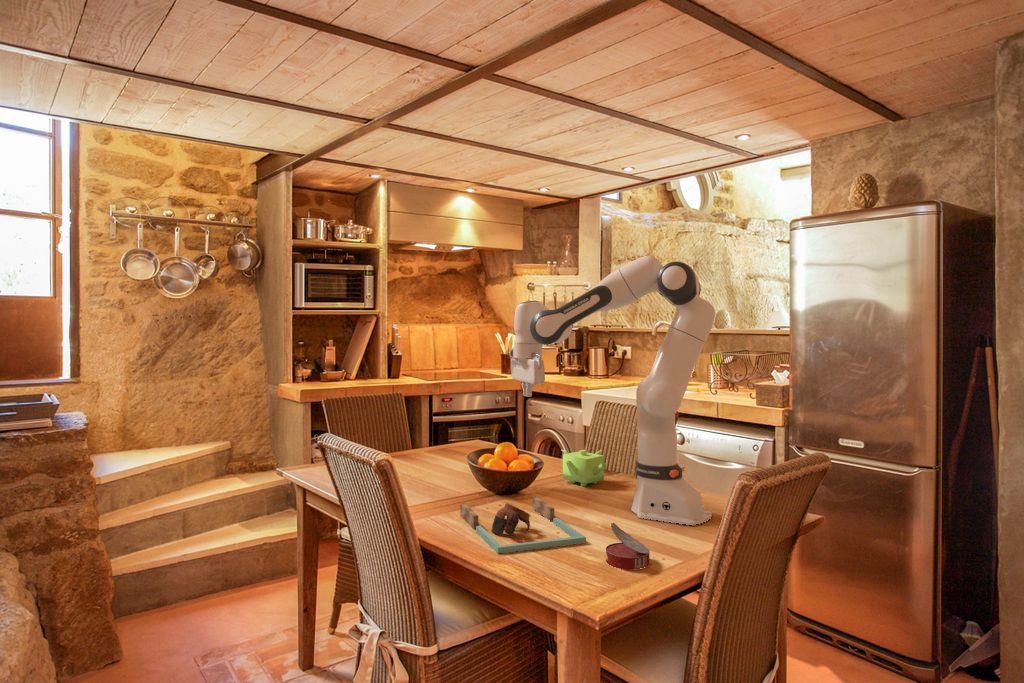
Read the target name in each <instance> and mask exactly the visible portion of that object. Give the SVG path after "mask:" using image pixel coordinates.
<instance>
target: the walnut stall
mask: <svg viewBox="0 0 1024 683" xmlns="http://www.w3.org/2000/svg"><path fill="white" fill-rule="evenodd" d="M459 505H460V508H459V510H460V511H459V512H460V517H461V518H462V519H463V520H464V521H465V522H466V523H467V524H468V525H469V526H470V527H471V528H472V529H473V530H474V529H475V530H476V526H479V515H478V514H477V513H476V512H475V511H474V510H473V509H472V508H470V507H469V506H468V505H467V504H466V503H465V502H462V503H460V504H459ZM532 508H533V509H534V510H533V509H532ZM532 508H531V509H532V510H533V511H535V510H536V511H537V512H536V511H535V512H536V513H538V514H539V513H540V514H541V516H542V515H543V516H544V517H543V516H542V517H543V518H545V519H546V518H547V519H548V521H549V520H550V521H549V522H553V518H555V507H553V506H551V505H550V504H549V503H547V502H546V501H544V500H542V499H541V498H539V497H537V496H532ZM540 514H539V515H540ZM547 519H546V520H547Z"/></svg>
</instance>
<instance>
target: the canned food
mask: <svg viewBox="0 0 1024 683" xmlns="http://www.w3.org/2000/svg"><path fill="white" fill-rule="evenodd" d="M610 528H611V531H612V532H613V535H615V537H616V538H617V539H618V540H619V541H620V542H614V543H611V544H608V545H607V546H606V547H605V563H606V562H607V563H608V564H609V565H608V564H607V563H606V564H607V565H608V566H610V565H611V566H613V567H612V568H614V567H616V568H615V569H617V568H621V569H620V570H622V569H640V568H644V567H646V566H648V565H649V566H650V549H649V548H648V547H647V546H646V545H645V544H644V543H643V542H641V541H640V540H638V539H636V538H634V537H633V536H631V535H630V534H628V533H627V532H626V531H624V530H623V529H621V528H620V527H619V526H618V525H617V524H616V523H615V522H612V523H610ZM611 566H610V567H611ZM649 566H648V567H649ZM644 569H645V568H644ZM640 570H641V569H640Z"/></svg>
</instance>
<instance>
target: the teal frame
mask: <svg viewBox="0 0 1024 683" xmlns="http://www.w3.org/2000/svg"><path fill="white" fill-rule="evenodd" d="M552 522H553V523H554V524H556V525H557V526H558V527H557V526H556V525H555V526H556V527H557V528H559V527H560V528H561V529H562V530H561V529H560V528H559V529H560V530H561V531H563V530H564V531H565V532H564V531H563V532H564V533H566V532H567V533H568V534H569V535H568V534H567V533H566V534H567V535H568V536H570V535H571V536H572V537H571V536H570V537H563V538H553V539H544V540H536V541H528V542H518V543H510V544H504V545H502V544H500V542H498V541H497V540H496V539H495V538H494V537H493V536H492V535H491V534H490V533H489V532H488V531H487V530H486V529H484V527H483V526H482V525H478V526H476V529H475V532H476V533H477V535H479V537H481V538H482V540H483V541H485V543H486V544H487V545H488V546H490V548H491V547H492V548H493V549H494V550H495V551H496V552H497V553H496V552H495V551H494V550H493V549H492V548H491V549H492V550H493V551H494V552H495V553H496V554H497V555H500V553H502V554H508V553H509V552H510V553H516V551H518V552H524V550H527V551H532V550H533V549H535V550H542V548H543V549H549V547H551V548H556V546H560V547H565V546H564V545H568V546H574V545H573V544H576V545H581V544H580V543H584V544H586V543H587V537H586V536H585V535H584V534H582V533H580V532H579V531H577V530H576V529H574V528H573V527H572V526H570V525H569V524H568V523H566V522H564V521H563V520H561V519H560V518H559V517H554V518H553V521H552ZM553 523H552V524H553ZM554 524H553V525H554Z"/></svg>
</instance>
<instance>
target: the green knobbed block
mask: <svg viewBox="0 0 1024 683" xmlns="http://www.w3.org/2000/svg"><path fill="white" fill-rule="evenodd" d="M561 451H562V452H561V453H563V454H562V479H564V480H568V484H573V485H575V483H576V482H578V483H580V487H582V488H585V486H586V487H588V484H592V485H598V484H597V483H598V482H600V481H605V470H606V469H607V464H606V463H605V456H604V455H603V454H601V453H602V452H603V451H602V450H598V451H597V450H596V452H595V453H594V452H593V453H592V452H588V450H587V449H579V451H575V452H570V453H569V452H568V451H567V450H566V449H561Z"/></svg>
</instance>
